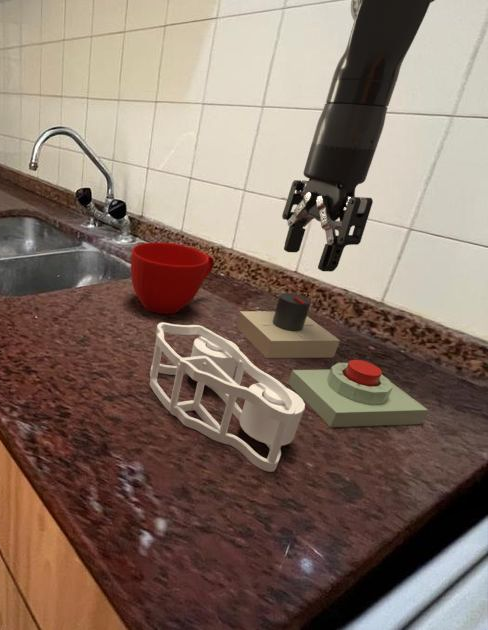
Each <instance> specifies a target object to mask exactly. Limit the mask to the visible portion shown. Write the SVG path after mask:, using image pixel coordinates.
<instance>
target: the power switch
mask: <svg viewBox="0 0 488 630" xmlns="http://www.w3.org/2000/svg"><path fill="white" fill-rule="evenodd" d="M348 363H349V362H337V363H336V364H334V365H332V366H331V368H330V369H292V370H291V373H290V376H289V379H288V381H287V384H288V385H289V386H290V387H291V388H292V389H293V390H294V392H295V393H296V394H298V395H299V396H300V397H301V398H302V399H303V401H304V402H305V404H307V405H308V406H309V407H310V408H311V409H312V410H313V411H314V412H315V413H316V414H317V415H318V416H319V417H320V418H321V419H322V420H323V421H324V422H325V424H327V425H328V426H329V428H346V427H348V428H349V427H351V428H352V427H377V426H406V425H408V426H409V425H421V424H422V423H423V421H424V419H425V416H426V415H427V413H428V408H427V407H425V406H424V405H422V404H421V403H419V401H417V400H415V399H414V398H413V397H412V396H411V395H409V394H407V393H406V392H405V391H404V390H402V389H401V388H400V387H398V386H397V385H396V384H394V383H393V382H392V381H391V380H390V379H389V378H388V377H386V376H384V375H383V373H382V374H381V377H380V379H379V381H378V384H377V386H371V387H369V386H364V385H360V384H357V383H355V382H353V381H351V380H349V379H348V378H347V377H345V376H344V373H345V370H346V368H347V365H348Z"/></svg>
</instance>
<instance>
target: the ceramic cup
mask: <svg viewBox="0 0 488 630" xmlns="http://www.w3.org/2000/svg"><path fill="white" fill-rule="evenodd" d="M130 257H131V258H130V276H131V277H130V279H131V284H132V287H133V291H134V293H135V295H136V296H137V299H138V300H139V301H140V302H141V304H142V306H143V307H144V308H145V309H146V310H148V311H149V312H152V313H153V312H154V313H156V314H165V315H171V314H176V313H178V312H179V311H180V310H182V309H183V308H184V307H186V306H187V305H188V304H189V303H190V302H192V301H193V299H194V298H195V297H196V295H197V293H198V292H199V290H200V288H201V286H202V284H203V282H204V280H205V279H207V277H208V276H209V275H210V273H212V271H213V268H214V265H215V260H214V257H213V256H212V255H210V254H206V253H204V252H203V251H201V250H198V249H196V248H194V247H190V246H187V245H182V244H177V243H170V242H145V243H140V244H137V245H135V246H134V247H133V248H132V251H131V256H130Z"/></svg>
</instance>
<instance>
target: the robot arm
mask: <svg viewBox="0 0 488 630" xmlns="http://www.w3.org/2000/svg"><path fill="white" fill-rule="evenodd" d="M435 1H436V0H350V15H351V18H352V20H353V23H352V28H351V30H350V34H349V38H348V42H347V45H346V48H345V50H344V53H343V54H342V55H341V57H340V59H339V60H338V62H337V65H336V67H335V70H334V72H333V76H332V78H331V82H330V86H329V89H328V92H327V96H326V99H325V103H324V106H323V109H322V111H321V114H320V116H319V118H318V121H317V124H316V126H315V130H314V134H313V137H312V141H311V144H310V147H309V151H308V154H307V158H306V162H305V166H304V169H303V173H302V174H303V176H304V177H305V178H307V179H308V180H303V179H301V180H300V179H298V180H297V179H294V180H293V181H292V183H291V186H290V190H289V192H288V195H287V199H286V202H285V205H284V208H283V211H282V215H281V217H282V219H283V220H286V221H287V226H288V230H287V234H286V237H285V240H284V246H283V250H284V251H285V252H287V253H298V252H299V251H300V250H301V246H302V242H303V239H304V236H305V232H306V228H305V227H306V226H307V225H309V224H310V222H311V221H312V220H314V219H315V220H316V221H318V222H320V227H321V229H322V230H324V231H325V232H324V233H325V240H326V243H325V244H324V247H323V249H322V252H321V255H320V259H319V262H318V265H317V269H318V270H319V271H321V272H334V271H336V269H337V268H338V266H339V263H340V261H341V258H342V255H343V252H344V249H345V248H346V247H347V246H353V245H355V246H357V245H360V244H361V242H362V239H363V235H364V232H365V228H366V225H367V223H368V219H369V216H370V212H371V209H372V206H373V203H374V201H373V198H372V197H366V196H365V197H363V196H356V188H357V187H358V185H361V184H363V183H364V182H365V181H366V180H367V178H368V177H367V176H368V174H369V170H370V168H371V165H372V161H373V159H374V157H375V153H376V151H377V148H378V144H379V142H380V138H381V136H382V133H383V129H384V126H385V121H386V117H387V111H388V107H389V105H390V103H391V99H392V97H393V94H394V91H395V88H396V86H397V82H398V79H399V74H400V71H401V67H402V65H403V63H404V60H405V58H406V56H407V54H408V52H409V50H410V48H411V46H412V44H413V42H414V40H415V38H416V36H417V34H418V32H419V29H420V27H421V25H422V23H423V21H424V20H425V16H426V14H427V12H428V10H429V8H430V5H431V3H433V2H435ZM295 205H296V207H294V206H295ZM293 207H294V209H293ZM292 210H293V211H292ZM352 227H354V228H353V231H352V234H350V231H351V229H352ZM336 231H338V235H337V233H336Z"/></svg>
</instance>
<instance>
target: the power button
mask: <svg viewBox="0 0 488 630" xmlns="http://www.w3.org/2000/svg"><path fill="white" fill-rule="evenodd" d="M347 363H348V365H347V368H346V370H345V373H344V376H345V377H347V378H348V379H349V380H351V381H353V382H355V383H357V384H360V385H364V386H369V387H371V386H377V384H378V381H379V379H380V377H381V374H382V375H383V370H382V369H381V368H379V367H378V366H376V365H375V364H373V363H371V362H368V361H365V360H359V359H351V360H349V361H348V362H347Z"/></svg>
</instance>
